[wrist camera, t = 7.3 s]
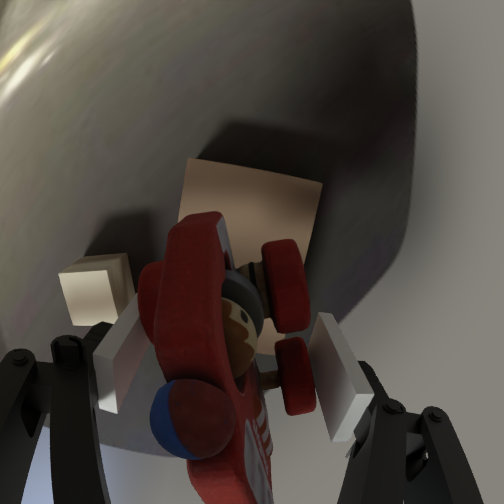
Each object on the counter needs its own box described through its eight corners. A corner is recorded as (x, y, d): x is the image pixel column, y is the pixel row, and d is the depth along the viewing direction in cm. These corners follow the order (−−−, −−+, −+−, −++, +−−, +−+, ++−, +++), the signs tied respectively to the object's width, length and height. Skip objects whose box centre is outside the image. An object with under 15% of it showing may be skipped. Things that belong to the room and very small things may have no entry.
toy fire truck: (284, 191, 14) (376, 256, 4) (308, 395, 18) (345, 540, 8) (142, 217, 15) (-1, 311, 5) (199, 409, 18) (180, 554, 8)
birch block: (83, 256, 28) (58, 273, 23) (127, 252, 28) (106, 270, 23) (94, 302, 29) (73, 325, 24) (137, 301, 29) (120, 325, 24)
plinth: (196, 158, 25) (187, 157, 22) (311, 180, 26) (322, 183, 22) (174, 316, 29) (165, 337, 26) (275, 332, 30) (279, 355, 26)
